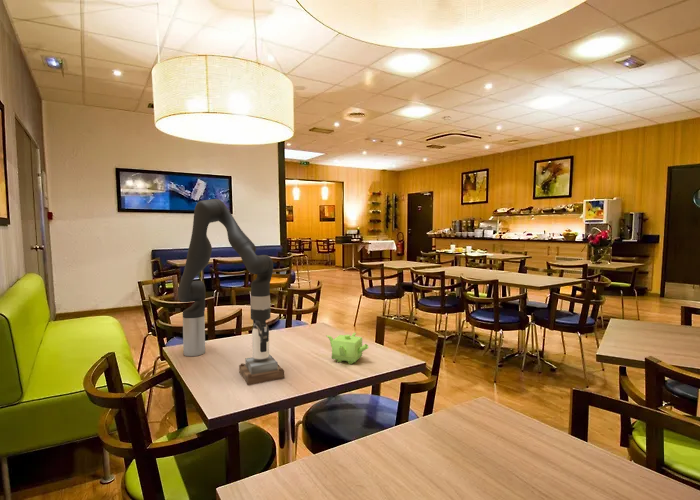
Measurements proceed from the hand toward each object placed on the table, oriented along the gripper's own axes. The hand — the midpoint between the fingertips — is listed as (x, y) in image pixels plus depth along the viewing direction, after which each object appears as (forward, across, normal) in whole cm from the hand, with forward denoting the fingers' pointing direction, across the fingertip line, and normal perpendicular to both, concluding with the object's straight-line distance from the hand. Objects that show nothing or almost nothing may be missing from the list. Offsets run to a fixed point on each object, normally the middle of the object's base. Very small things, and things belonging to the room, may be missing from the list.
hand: (260, 348), depth 149 cm
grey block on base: (+10, 0, 0) cm, 10 cm away
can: (+3, 0, 0) cm, 3 cm away
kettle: (+11, 0, +38) cm, 40 cm away
